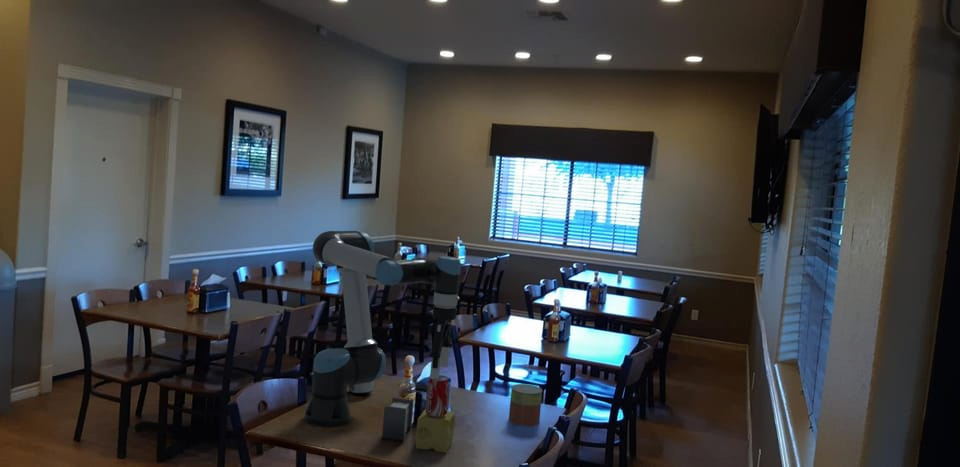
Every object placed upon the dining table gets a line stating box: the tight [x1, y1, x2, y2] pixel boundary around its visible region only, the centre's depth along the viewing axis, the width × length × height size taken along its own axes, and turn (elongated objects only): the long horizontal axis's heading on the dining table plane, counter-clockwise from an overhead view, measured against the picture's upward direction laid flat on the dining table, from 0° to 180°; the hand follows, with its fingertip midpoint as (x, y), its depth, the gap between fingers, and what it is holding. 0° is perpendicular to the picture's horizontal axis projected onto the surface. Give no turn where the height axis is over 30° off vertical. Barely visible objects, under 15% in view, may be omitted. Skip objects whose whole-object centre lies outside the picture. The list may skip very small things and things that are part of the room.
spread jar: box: [347, 381, 375, 397], centre depth 264 cm, size 12×11×12 cm
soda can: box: [425, 374, 450, 417], centre depth 218 cm, size 7×7×12 cm
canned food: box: [508, 383, 544, 428], centre depth 249 cm, size 11×11×12 cm
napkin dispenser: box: [381, 396, 414, 444], centre depth 224 cm, size 10×7×11 cm
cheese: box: [415, 408, 456, 454], centre depth 219 cm, size 10×11×10 cm
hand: (439, 372), depth 218 cm, fingers open, 13 cm apart
